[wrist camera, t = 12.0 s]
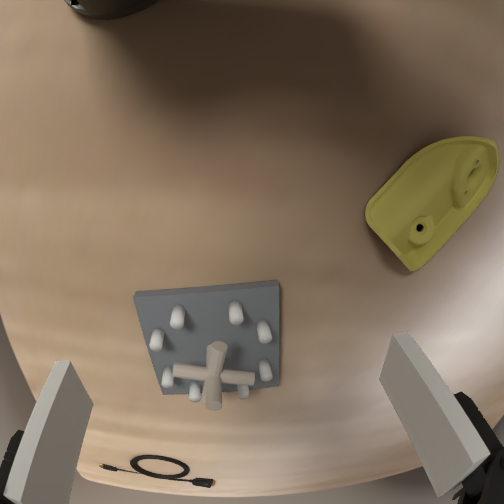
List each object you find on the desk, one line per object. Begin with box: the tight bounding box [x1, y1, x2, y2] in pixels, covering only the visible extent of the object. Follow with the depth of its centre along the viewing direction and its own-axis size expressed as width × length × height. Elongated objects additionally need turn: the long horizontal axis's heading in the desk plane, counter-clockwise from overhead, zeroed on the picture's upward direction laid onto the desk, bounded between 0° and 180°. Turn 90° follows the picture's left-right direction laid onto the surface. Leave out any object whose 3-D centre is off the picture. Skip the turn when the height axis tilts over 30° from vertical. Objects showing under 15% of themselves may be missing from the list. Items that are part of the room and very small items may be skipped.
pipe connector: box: [172, 341, 255, 410], centre depth 37 cm, size 10×10×10 cm
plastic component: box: [365, 136, 499, 272], centre depth 35 cm, size 20×7×10 cm
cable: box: [99, 455, 215, 488], centre depth 56 cm, size 14×28×2 cm, turn 74°
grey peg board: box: [133, 280, 279, 402], centre depth 41 cm, size 18×18×4 cm
